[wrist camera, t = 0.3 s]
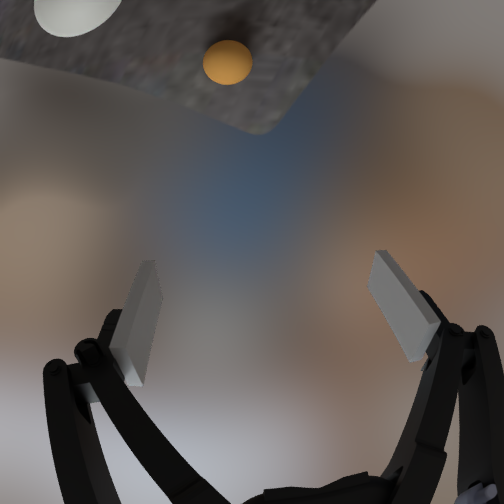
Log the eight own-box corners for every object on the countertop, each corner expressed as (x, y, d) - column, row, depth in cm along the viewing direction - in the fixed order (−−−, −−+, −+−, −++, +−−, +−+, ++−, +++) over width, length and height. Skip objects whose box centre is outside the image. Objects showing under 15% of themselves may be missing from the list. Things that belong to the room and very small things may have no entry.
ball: (221, 30, 27) (223, 32, 23) (258, 54, 30) (266, 60, 26) (194, 65, 30) (192, 73, 26) (231, 86, 33) (234, 98, 29)
